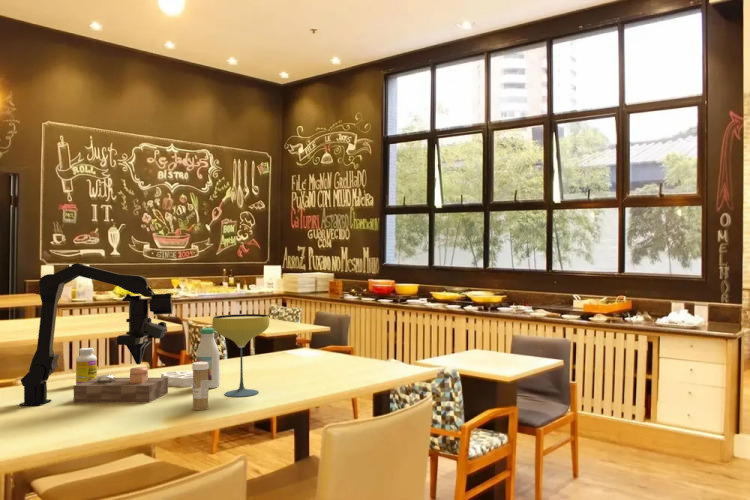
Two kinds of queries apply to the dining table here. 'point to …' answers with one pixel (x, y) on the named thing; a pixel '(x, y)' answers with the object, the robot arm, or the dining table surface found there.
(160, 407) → the dining table surface
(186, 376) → the white recessed tray
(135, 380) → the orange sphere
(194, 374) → the sprinkles bottle
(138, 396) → the brown flat block
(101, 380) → the knob steel
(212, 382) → the milk bottle
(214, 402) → the dining table surface
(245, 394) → the cocktail glass
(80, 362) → the supplement bottle
